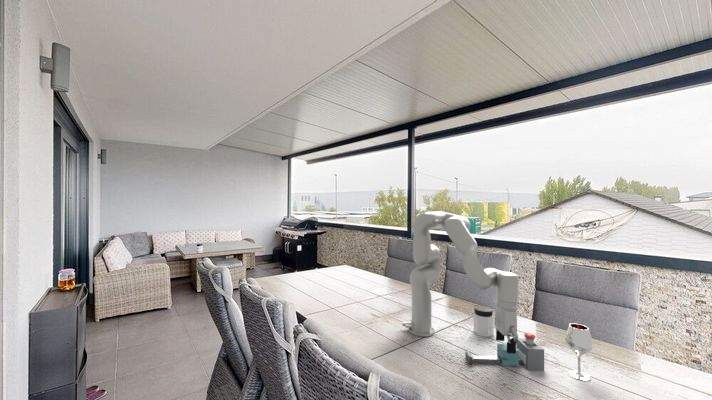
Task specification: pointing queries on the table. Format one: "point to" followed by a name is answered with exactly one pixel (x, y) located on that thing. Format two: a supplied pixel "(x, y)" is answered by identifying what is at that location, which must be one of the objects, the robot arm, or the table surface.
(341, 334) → the table surface
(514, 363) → the carriage
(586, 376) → the wineglass
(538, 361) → the housing
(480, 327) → the jar
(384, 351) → the table surface
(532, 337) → the plunger
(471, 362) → the rail
